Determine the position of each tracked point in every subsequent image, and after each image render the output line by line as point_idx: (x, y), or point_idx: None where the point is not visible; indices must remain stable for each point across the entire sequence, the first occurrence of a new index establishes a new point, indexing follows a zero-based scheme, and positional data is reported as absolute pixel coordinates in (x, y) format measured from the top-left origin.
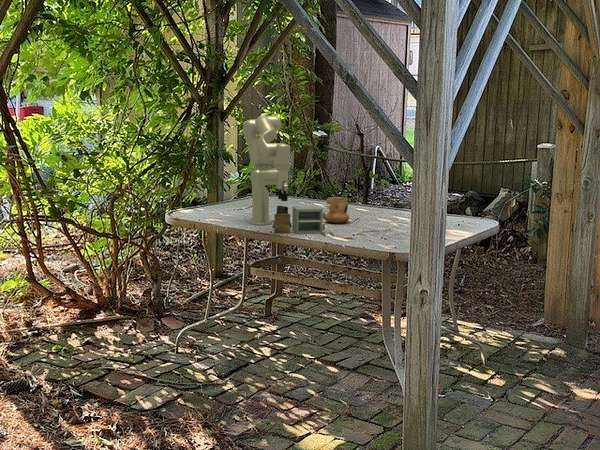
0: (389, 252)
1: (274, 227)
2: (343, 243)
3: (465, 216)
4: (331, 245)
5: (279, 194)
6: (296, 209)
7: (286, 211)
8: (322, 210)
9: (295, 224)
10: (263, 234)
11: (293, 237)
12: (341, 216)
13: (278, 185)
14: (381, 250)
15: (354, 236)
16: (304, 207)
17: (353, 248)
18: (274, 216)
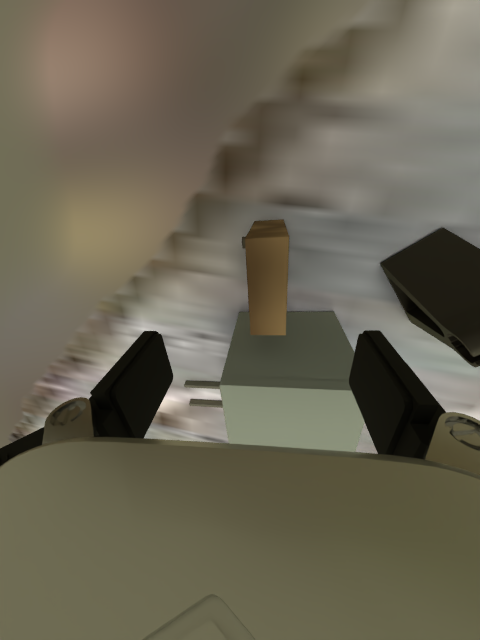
0: (21, 434)
1: (279, 223)
2: (88, 394)
3: None
4: (49, 365)
5: (381, 381)
6: (229, 384)
7: (456, 342)
8: None
9: None
10: (225, 146)
11: (156, 287)
12: None
13: (15, 574)
14: (35, 430)
15: (192, 436)
16: (301, 432)
17: (32, 396)
18: (286, 233)
